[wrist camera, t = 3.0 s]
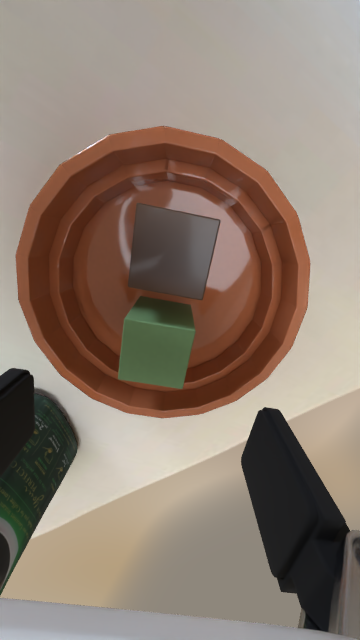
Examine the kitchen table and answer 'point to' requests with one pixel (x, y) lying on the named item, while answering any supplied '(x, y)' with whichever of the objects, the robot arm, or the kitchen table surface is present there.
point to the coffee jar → (33, 482)
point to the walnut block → (171, 251)
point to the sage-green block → (157, 342)
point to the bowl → (117, 298)
